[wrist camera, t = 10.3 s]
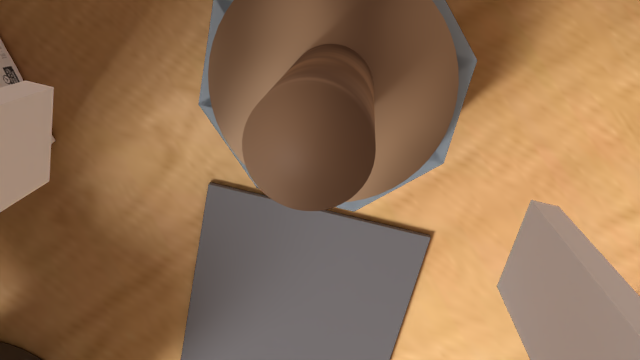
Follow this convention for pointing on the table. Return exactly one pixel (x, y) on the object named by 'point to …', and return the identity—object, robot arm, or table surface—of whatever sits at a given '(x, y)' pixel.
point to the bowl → (465, 74)
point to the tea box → (9, 71)
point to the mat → (296, 282)
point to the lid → (332, 94)
